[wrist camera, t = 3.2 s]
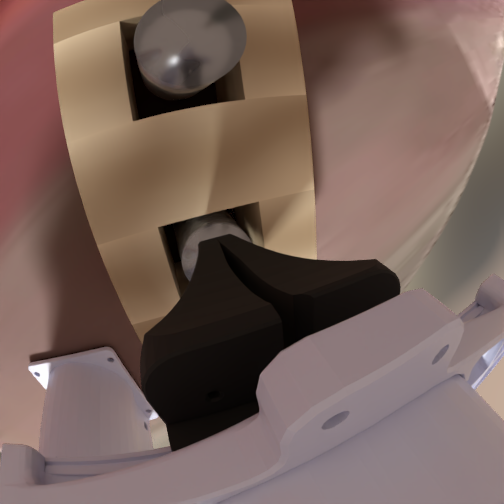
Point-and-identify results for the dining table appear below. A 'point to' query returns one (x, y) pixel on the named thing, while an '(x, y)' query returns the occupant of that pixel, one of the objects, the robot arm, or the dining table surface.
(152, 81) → the peg
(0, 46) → the dining table surface
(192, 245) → the peg
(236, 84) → the socket block
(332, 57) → the dining table surface
